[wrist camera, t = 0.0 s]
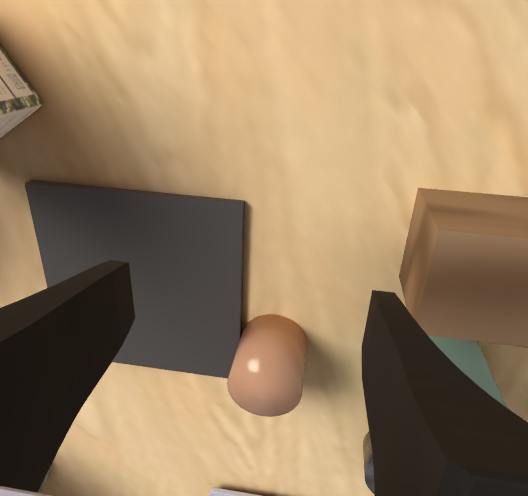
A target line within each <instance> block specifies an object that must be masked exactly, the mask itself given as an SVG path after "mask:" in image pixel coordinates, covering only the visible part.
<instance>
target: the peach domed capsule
mask: <svg viewBox="0 0 528 496" xmlns="http://www.w3.org/2000/svg"><path fill="white" fill-rule="evenodd" d="M306 344H307V342H306V337H305V334H304V332H303V331H302V329H301V328H300V327H299V326H298V325H297V324H296V323H295V322H294V321H292V320H290V319H288V318H286V317H283V316H280V315H272V314H269V315H262V316H258V317H256V318H254V319H252V320H251V321H249V322H248V323H247V324H246V326H245V327H244V329H243V332H242V335H241V338H240V342H239V345H238V348H237V351H236V355H235V358H234V361H233V364H232V368H231V371H230V374H229V377H228V382H227V386H228V391H229V394H230V396H231V397H232V399H233V400H234V401H235V402H236V403H237V404H238V405H239V406H240V407H241V408H243V409H244V410H246V411H248V412H250V413H253V414H256V415H260V416H271V417H272V416H279V415H283V414H286V413H288V412H290V411H292V410H293V409H294V408H295V407H296V406H297V405H298V403H299V402H300V399H301V396H302V387H303V376H304V366H305V356H306Z"/></svg>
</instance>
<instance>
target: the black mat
mask: <svg viewBox="0 0 528 496" xmlns="http://www.w3.org/2000/svg"><path fill="white" fill-rule="evenodd" d="M25 187H26V191H27V196H28V200H29V205H30V209H31V214H32V218H33V223H34V228H35V232H36V237H37V241H38V246H39V250H40V255H41V259H42V264H43V269H44V273H45V278H46V282H47V287H48V288H49V287H51V286H54V285H56V284H58V283H60V282H62V281H64V280H66V279H68V278H70V277H73V276H75V275H77V274H79V273H81V272H83V271H85V270H87V269H89V268H92V267H94V266H96V265H98V264H101V263H103V262H106V261H109V260H113V261H122V262H129V267H130V276H131V284H132V293H133V302H134V311H135V320H134V322H133V324H132V326H131V329H130V331H129V333H128V335H127V337H126V339H125V341H124V343H123V345H122V347H121V348H120V350H119V352H118V353H117V355H116V356H115V358H114V359H113V361H112V362H116V363H123V364H130V365H137V366H144V367H151V368H158V369H165V370H172V371H180V372H187V373H194V374H201V375H208V376H215V377H222V378H228V377H229V374H230V371H231V368H232V364H233V361H234V358H235V355H236V351H237V348H238V345H239V342H240V338H241V333H242V290H243V247H244V205H245V201H242V200H231V199H221V198H210V197H200V196H189V195H179V194H168V193H158V192H147V191H137V190H126V189H116V188H105V187H95V186H84V185H74V184H63V183H53V182H42V181H32V180H30V181H28V182H26V183H25Z"/></svg>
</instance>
